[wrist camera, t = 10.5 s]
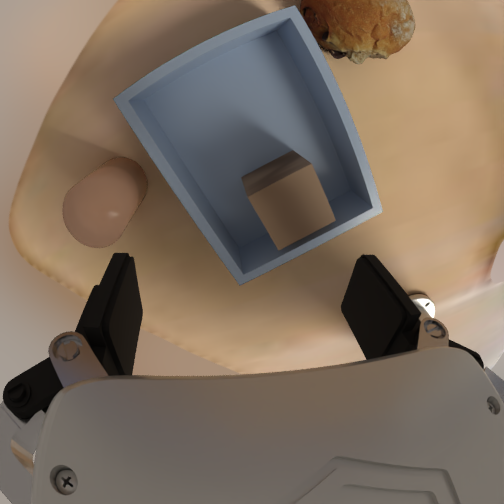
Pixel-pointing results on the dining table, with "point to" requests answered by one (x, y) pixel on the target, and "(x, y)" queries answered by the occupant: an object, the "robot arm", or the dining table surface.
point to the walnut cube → (288, 198)
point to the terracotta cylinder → (104, 202)
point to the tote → (251, 134)
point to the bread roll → (359, 26)
